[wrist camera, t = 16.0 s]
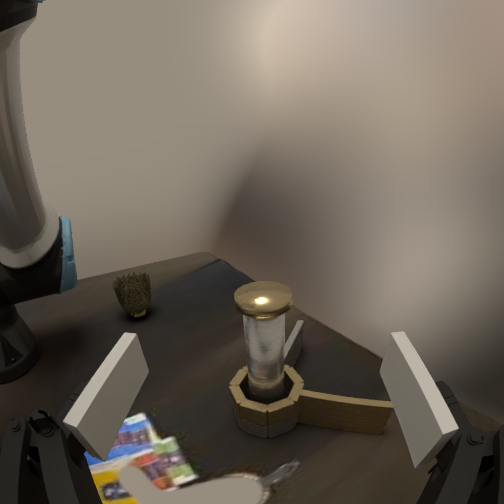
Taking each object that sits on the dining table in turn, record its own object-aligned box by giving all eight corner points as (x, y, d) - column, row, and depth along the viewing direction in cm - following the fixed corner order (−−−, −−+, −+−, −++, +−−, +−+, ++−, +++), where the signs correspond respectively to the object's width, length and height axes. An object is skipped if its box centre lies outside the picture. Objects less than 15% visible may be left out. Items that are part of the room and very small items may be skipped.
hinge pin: (255, 433, 25) (246, 313, 20) (240, 405, 29) (227, 287, 24) (295, 419, 26) (302, 298, 21) (277, 393, 31) (276, 277, 26)
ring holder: (272, 489, 18) (272, 469, 16) (214, 370, 35) (209, 343, 34) (384, 432, 22) (397, 405, 21) (300, 346, 40) (301, 318, 38)
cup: (159, 321, 48) (150, 282, 46) (122, 328, 45) (110, 290, 43) (155, 304, 55) (148, 269, 52) (122, 310, 52) (113, 275, 50)
